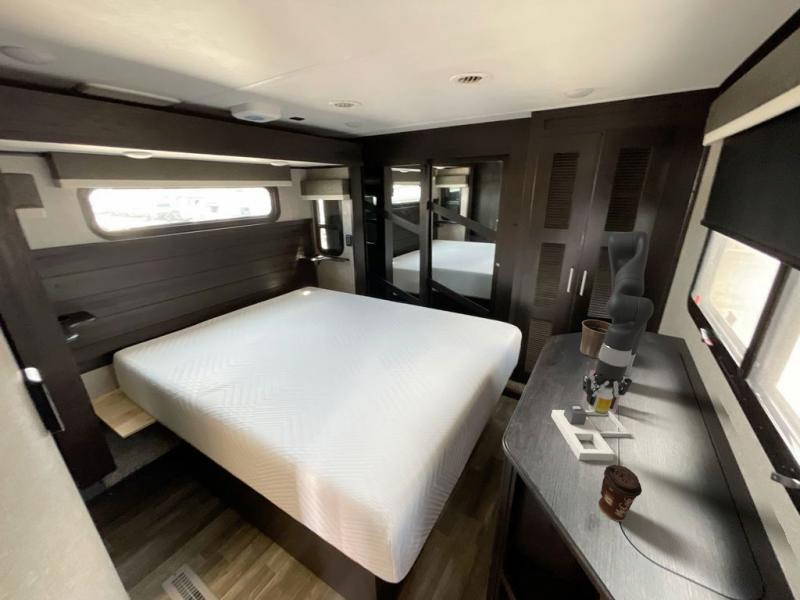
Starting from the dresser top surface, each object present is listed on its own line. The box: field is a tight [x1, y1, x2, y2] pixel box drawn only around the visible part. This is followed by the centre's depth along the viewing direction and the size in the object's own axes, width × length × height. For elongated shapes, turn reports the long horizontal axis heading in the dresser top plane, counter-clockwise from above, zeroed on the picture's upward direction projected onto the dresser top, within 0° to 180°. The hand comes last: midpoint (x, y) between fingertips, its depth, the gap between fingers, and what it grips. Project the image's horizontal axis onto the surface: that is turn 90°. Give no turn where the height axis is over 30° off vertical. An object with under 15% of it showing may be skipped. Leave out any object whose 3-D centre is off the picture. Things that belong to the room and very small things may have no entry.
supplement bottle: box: [588, 386, 613, 416], centre depth 96 cm, size 5×5×10 cm
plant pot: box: [579, 319, 612, 360], centre depth 159 cm, size 16×16×16 cm
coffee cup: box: [598, 464, 643, 522], centre depth 82 cm, size 9×8×13 cm
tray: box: [584, 409, 631, 438], centre depth 113 cm, size 12×12×2 cm
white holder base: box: [551, 403, 616, 462], centre depth 107 cm, size 11×20×9 cm, turn 179°
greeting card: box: [582, 369, 623, 415], centre depth 122 cm, size 11×7×15 cm, turn 47°
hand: (599, 403), depth 97 cm, fingers closed on supplement bottle, 5 cm apart
